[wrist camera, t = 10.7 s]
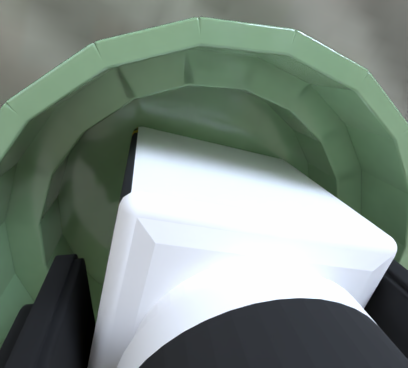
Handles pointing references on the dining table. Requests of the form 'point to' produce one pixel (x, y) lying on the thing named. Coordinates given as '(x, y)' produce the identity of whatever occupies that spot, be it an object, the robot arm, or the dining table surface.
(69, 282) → the robot arm
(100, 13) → the dining table surface
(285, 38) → the bowl
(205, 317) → the medicine bottle
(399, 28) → the dining table surface
